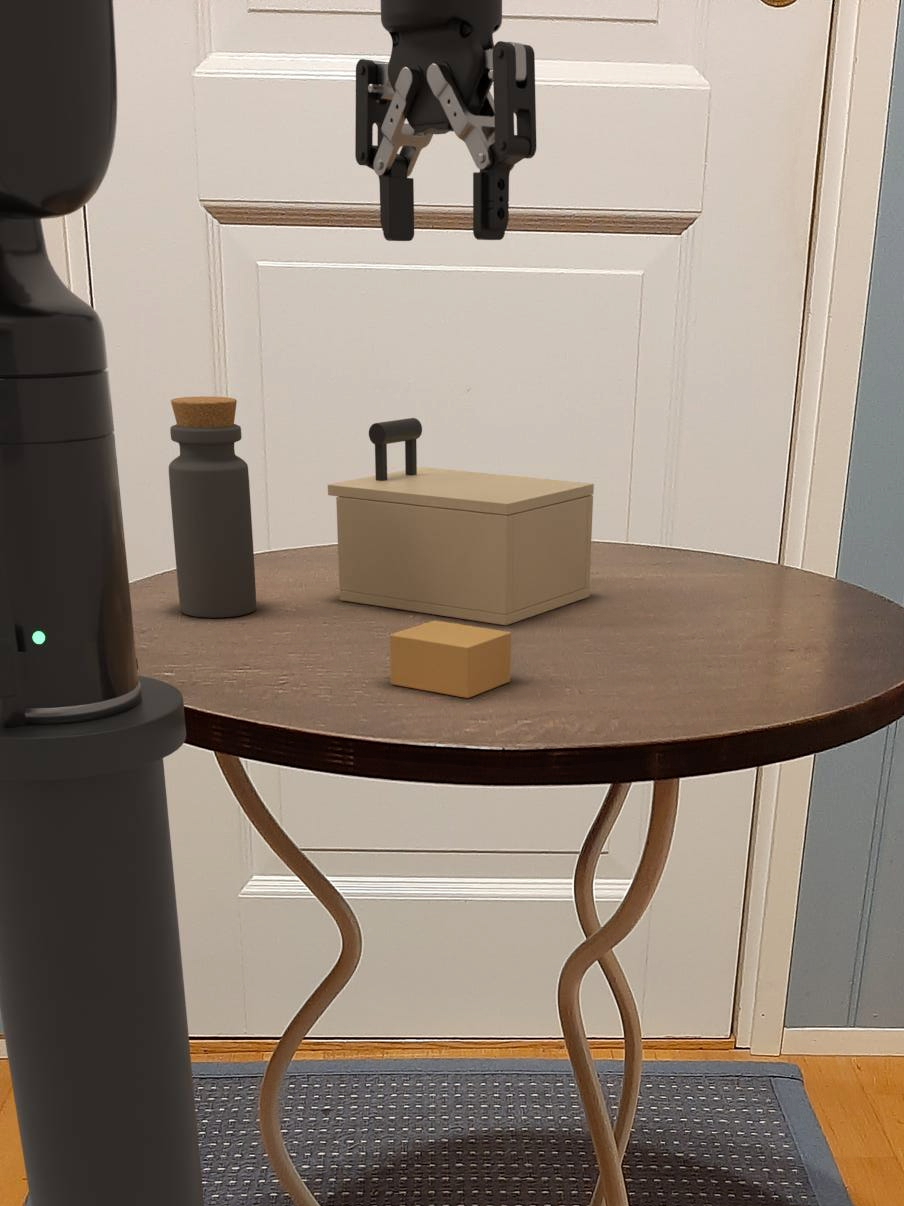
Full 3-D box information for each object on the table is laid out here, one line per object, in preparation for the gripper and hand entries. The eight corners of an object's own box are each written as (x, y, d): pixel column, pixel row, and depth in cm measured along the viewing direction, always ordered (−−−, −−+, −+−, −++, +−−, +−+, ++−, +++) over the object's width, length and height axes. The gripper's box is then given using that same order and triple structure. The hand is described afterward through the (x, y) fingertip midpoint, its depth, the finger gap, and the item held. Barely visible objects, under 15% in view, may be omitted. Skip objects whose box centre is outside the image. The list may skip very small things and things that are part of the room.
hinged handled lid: (327, 495, 117) (325, 425, 114) (421, 477, 126) (421, 412, 124) (507, 515, 109) (508, 441, 107) (593, 494, 118) (596, 425, 116)
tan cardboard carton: (390, 684, 97) (389, 634, 96) (434, 668, 101) (434, 619, 100) (468, 698, 95) (468, 647, 93) (510, 681, 98) (511, 632, 97)
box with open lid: (339, 600, 120) (335, 496, 116) (430, 575, 129) (429, 478, 126) (505, 625, 113) (507, 516, 109) (589, 597, 122) (593, 495, 118)
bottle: (271, 607, 118) (260, 398, 111) (227, 621, 113) (212, 404, 106) (210, 599, 120) (195, 394, 113) (164, 613, 115) (145, 400, 108)
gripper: (318, -54, 94) (329, 241, 101) (480, -89, 85) (479, 238, 93) (407, -38, 99) (411, 242, 106) (569, -69, 90) (562, 240, 97)
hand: (443, 240), depth 99 cm, fingers open, 8 cm apart
